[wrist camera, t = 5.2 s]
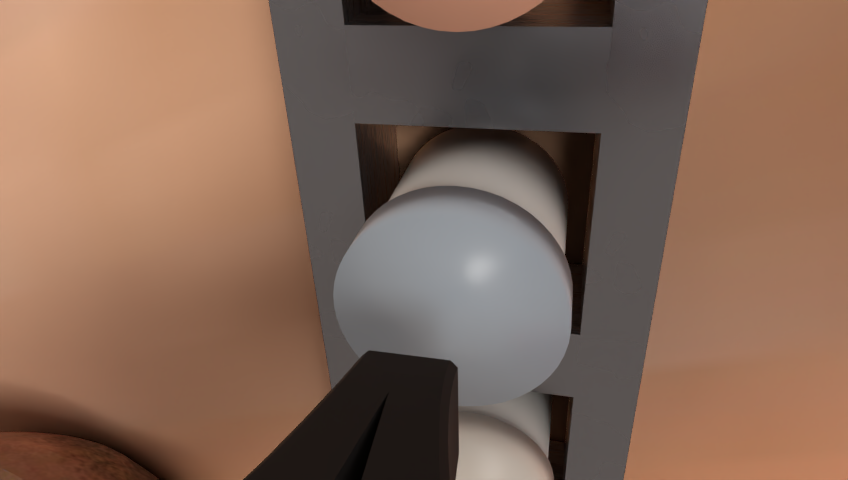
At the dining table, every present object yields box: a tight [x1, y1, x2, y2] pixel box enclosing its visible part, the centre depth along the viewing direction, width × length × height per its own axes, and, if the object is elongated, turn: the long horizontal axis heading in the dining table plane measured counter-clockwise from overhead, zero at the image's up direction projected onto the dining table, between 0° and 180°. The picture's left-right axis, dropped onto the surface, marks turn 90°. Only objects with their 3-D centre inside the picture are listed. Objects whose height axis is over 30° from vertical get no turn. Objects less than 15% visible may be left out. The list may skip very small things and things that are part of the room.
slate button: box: [333, 128, 573, 406], centre depth 14 cm, size 4×4×4 cm
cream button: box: [456, 392, 554, 480], centre depth 18 cm, size 4×4×4 cm
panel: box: [269, 0, 708, 480], centre depth 15 cm, size 8×24×3 cm, turn 3°
